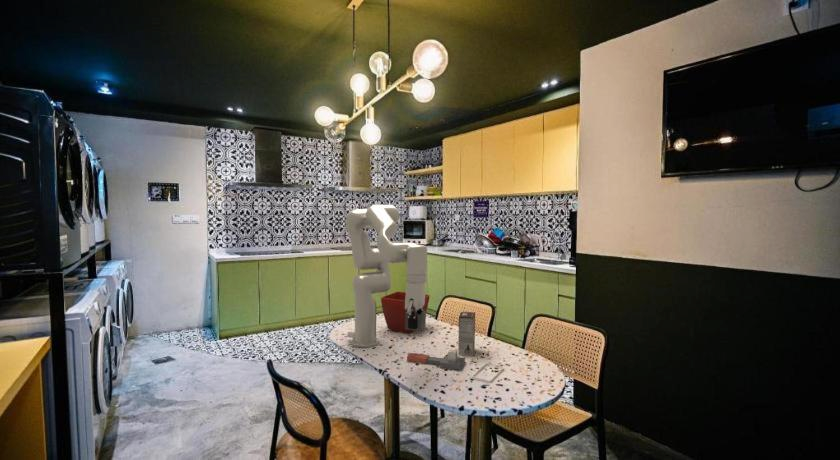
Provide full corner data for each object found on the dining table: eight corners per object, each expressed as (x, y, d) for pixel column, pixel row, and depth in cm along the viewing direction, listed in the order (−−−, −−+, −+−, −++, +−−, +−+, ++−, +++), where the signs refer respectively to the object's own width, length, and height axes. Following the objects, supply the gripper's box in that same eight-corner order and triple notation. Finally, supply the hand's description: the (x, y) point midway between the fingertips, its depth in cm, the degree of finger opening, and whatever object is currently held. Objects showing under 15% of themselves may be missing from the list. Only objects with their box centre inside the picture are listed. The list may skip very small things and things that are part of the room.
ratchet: (405, 362, 153) (405, 348, 153) (412, 356, 160) (412, 342, 160) (460, 370, 146) (460, 355, 146) (464, 363, 153) (465, 349, 153)
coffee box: (460, 347, 171) (460, 311, 171) (474, 348, 170) (475, 312, 170) (457, 354, 162) (458, 316, 162) (473, 356, 161) (474, 317, 161)
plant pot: (430, 326, 203) (430, 294, 203) (414, 336, 186) (415, 301, 185) (397, 322, 211) (397, 291, 211) (379, 331, 194) (379, 297, 193)
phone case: (490, 384, 135) (504, 370, 148) (490, 380, 135) (504, 366, 148) (470, 379, 139) (485, 366, 152) (470, 375, 139) (485, 362, 152)
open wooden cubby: (405, 329, 144) (405, 313, 144) (410, 324, 150) (410, 309, 149) (420, 331, 142) (420, 314, 142) (425, 326, 148) (425, 310, 147)
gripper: (414, 274, 154) (413, 319, 155) (398, 281, 138) (397, 331, 139) (432, 275, 152) (431, 321, 153) (418, 282, 136) (417, 334, 136)
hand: (415, 325), depth 146 cm, fingers closed on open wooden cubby, 6 cm apart
